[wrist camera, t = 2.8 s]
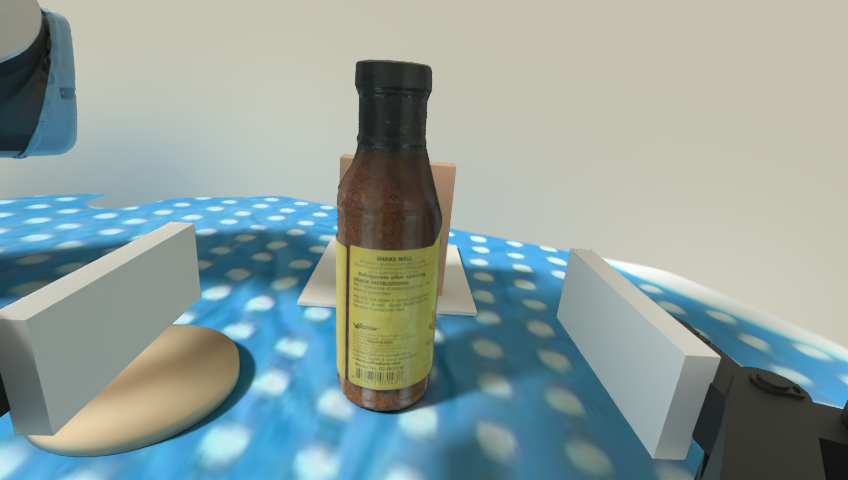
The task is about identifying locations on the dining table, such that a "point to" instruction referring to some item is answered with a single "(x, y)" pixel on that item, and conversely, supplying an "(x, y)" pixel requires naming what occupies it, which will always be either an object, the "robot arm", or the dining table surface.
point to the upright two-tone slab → (444, 189)
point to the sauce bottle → (388, 242)
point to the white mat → (451, 301)
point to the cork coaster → (153, 395)
